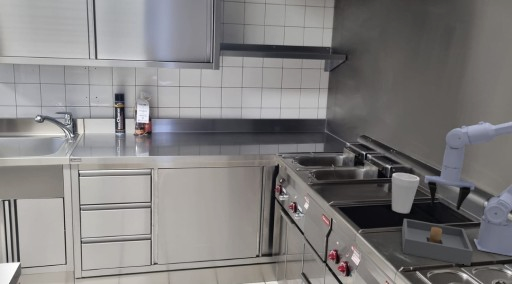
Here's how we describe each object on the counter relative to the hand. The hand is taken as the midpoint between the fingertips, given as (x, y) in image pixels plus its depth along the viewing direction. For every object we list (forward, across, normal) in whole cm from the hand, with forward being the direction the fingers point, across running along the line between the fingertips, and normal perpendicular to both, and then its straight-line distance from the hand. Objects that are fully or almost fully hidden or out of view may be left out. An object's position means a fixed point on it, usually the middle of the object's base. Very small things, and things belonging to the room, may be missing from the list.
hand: (444, 207), depth 145 cm
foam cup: (+10, +12, -18) cm, 24 cm away
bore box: (+9, +3, +12) cm, 16 cm away
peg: (+9, +3, +12) cm, 15 cm away
